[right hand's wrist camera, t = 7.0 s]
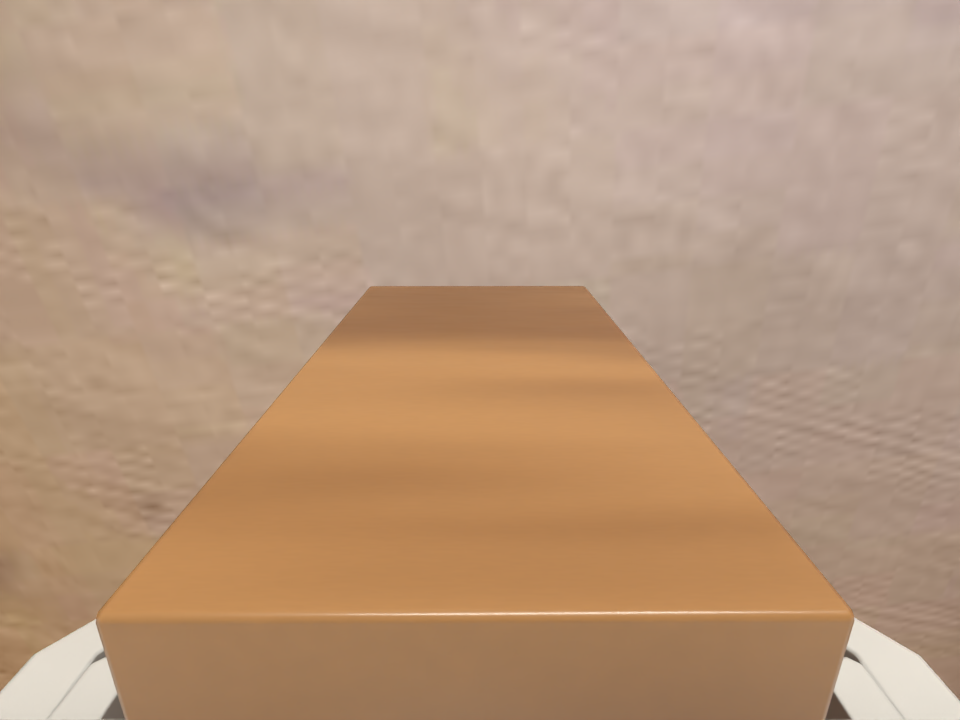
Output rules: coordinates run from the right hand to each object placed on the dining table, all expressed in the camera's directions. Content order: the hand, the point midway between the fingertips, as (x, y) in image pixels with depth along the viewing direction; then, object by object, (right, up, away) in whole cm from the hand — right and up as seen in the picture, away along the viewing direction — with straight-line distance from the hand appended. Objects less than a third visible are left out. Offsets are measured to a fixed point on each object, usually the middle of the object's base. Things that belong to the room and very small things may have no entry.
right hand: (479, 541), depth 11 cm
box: (0, -8, +10) cm, 12 cm away
